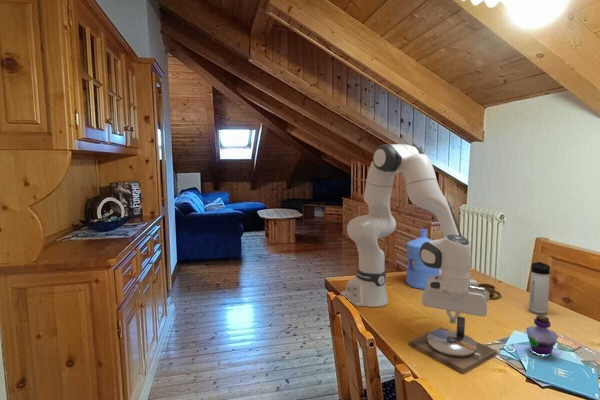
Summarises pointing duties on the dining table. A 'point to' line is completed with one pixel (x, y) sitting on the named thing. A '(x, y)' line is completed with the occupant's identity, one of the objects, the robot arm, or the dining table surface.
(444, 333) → the dial
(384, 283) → the robot arm
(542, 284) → the travel mug
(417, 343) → the stand
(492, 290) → the brown cup and saucer
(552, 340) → the potion bottle
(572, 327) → the dining table surface
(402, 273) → the dining table surface
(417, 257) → the water jug
